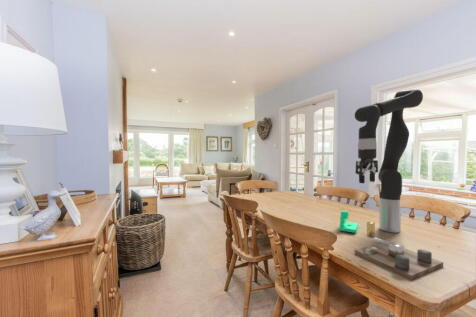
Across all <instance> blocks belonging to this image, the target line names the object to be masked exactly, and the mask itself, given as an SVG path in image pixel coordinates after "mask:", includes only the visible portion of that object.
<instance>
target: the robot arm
mask: <svg viewBox="0 0 476 317" xmlns="http://www.w3.org/2000/svg"><path fill="white" fill-rule="evenodd" d="M423 98H424V95H423V92H422V90H420V89H419V88H418V89H417V88H413V89H405V90H399V91H397V92H396V93H395V95H394V96H393V97H392V98H387V99H384V100H381V101H379V102H375V103H373V104H369V105H365V106H362V107H361V106H360V107H358V109H356V111H355V112H354V119H355V121H358V122H359V123H365V122H366V123H365V124H364V125H363V126H361V127H359V128H358V142H357V143H358V144H357V158H358V159H360V160H355V174H356V175H358V183H359V184H365V182H366V181H365V180H366V178H365V174H366V172H368V173H369V182H371V183H374V182H376V174H377V173H378V180H379V181H380V191H379V205H378V206H379V209H378V210H379V211H378V212H379V217H378V218H379V221H378V222H379V223H378V224H379V225H378V226H379V230H381V231H384V232H388V233H393V234H394V233H395V234H396V233H400V232H401V229H402V228H401V227H402V226H401V224H402V223H401V222H402V221H401V220H402V219H401V218H402V217H401V195H402V193H403V192H402V190H403V176H402V174H401V172H400V171H399V163H400V160H401V158H402V156H403V154H404V153H405V151H406V149H407V146H408V142H409V138H410V130H409V128H408V126H407V125H406V122H405V120H404V110H405V109H411V108H416V107H419V106H420V105H421V104H422V102H423ZM388 114H391V118H390V124H389V128H388V133H387V138H386V141H385V147H384V154H383V160H382V163H381V167H380V168H379V161H378V160H377V159H376V158H377V154H378V153H377V150H378V149H377V147H378V146H377V127H378V124H379V120H380V118H381V117H383V116H386V115H388ZM379 169H380V170H379Z"/></svg>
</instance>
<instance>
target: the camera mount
mask: <svg viewBox="0 0 476 317" xmlns="http://www.w3.org/2000/svg"><path fill="white" fill-rule="evenodd" d="M349 215H350V213H349V211H348V210H341V211H340V217H339V218H340V219H339V231H343V232H348V233H349V232H350V233H358V230H359V229H358V227H359V223H357V222H351V221H347V220H349Z"/></svg>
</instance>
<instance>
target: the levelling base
mask: <svg viewBox="0 0 476 317" xmlns="http://www.w3.org/2000/svg"><path fill="white" fill-rule="evenodd" d="M388 247H389V246H388V245H385V244H383V243H380V242H377V243H373V244H371V245H368V246H364V247H359V248H356V249H354V254H355V255H357V256H359V257H362V258H364V259H366V260H368V261H370V262H372V263H375V264H376V265H379V266H381V267H383V268H385V269H388V270H390V271H391V272H393V273H396V274H398V275H400V276H402V277H404V278H406V279H409V280H411V281H414V280H415V279H418V278H419V277H422V276H424V275H427V274H428V273H432V272H433V271H435V270H438V269H440V268H442V267H444V262H443V261H441V260H438V259H436V258H432V255H433V254H432V252H431V251H429V250H426V249H421V248H419V249H417V252H415V251H413V250H410V249H407V248H406V247H404V256H403V255H395V257H393V256H391V255H389V254H388Z"/></svg>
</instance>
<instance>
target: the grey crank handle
mask: <svg viewBox="0 0 476 317" xmlns="http://www.w3.org/2000/svg"><path fill="white" fill-rule="evenodd" d="M366 237H368V239H369V240H371V241H374V242H377V243H383V244H385V245H388V246H389V247H388V254H389V255H391V256H393V257H395V255H403V256H404V248H405V245H403V244H401V243H399V242H394V241H393V242H392V241H387V240H384V239H383V238H379V237H376V223H375V222H373V221H367V222H366Z"/></svg>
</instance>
